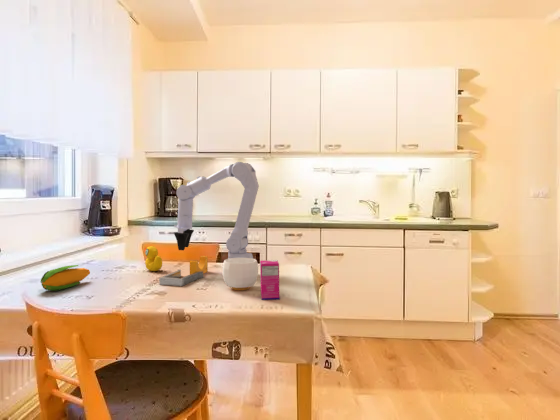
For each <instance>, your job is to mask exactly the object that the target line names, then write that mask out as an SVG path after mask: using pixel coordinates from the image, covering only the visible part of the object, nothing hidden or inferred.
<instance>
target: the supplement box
mask: <svg viewBox="0 0 560 420" xmlns="http://www.w3.org/2000/svg"><path fill="white" fill-rule="evenodd" d="M259 264H260V265H259V270H260V273H259V275H260V276H259V277H260V296H261V300H262V301H266V300H267V301H269V300H270V301H271V300H275V301H277V300H280V299H281V298H280V263H279V261H278V260H277V259H271V260H269V259H268V260H265V259H264V260H260V263H259Z"/></svg>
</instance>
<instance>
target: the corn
mask: <svg viewBox="0 0 560 420" xmlns="http://www.w3.org/2000/svg"><path fill="white" fill-rule="evenodd" d="M75 267H77V268H75ZM90 273H91V271H90V270H89V269H87V268H85V267H79V264H75V265H65V266H60V267H57V268H53V269H51V270H48V271H46V272H45V273H44V274H43V275H42V277H41V278H40V283H41V287H42V288H43V289H44V290H46V291H50V292H57V291H60V290H65V289H68V288H71V287H74V286H77V285H79V284H81V281H83V280H85V278H87V277H88V276H89V275H90Z"/></svg>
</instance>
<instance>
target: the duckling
mask: <svg viewBox="0 0 560 420" xmlns="http://www.w3.org/2000/svg"><path fill="white" fill-rule="evenodd" d="M144 254H145V256H146V259H145V261H144V264H145V268H146V269H147V270H148V271H150V272H157V271H160V270H161V269H162V267H163V259H162V257H161V256H159V255H158V254H159V251H158V248H157V247H156V246H151V245H150V246H147V247H145V248H144Z"/></svg>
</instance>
